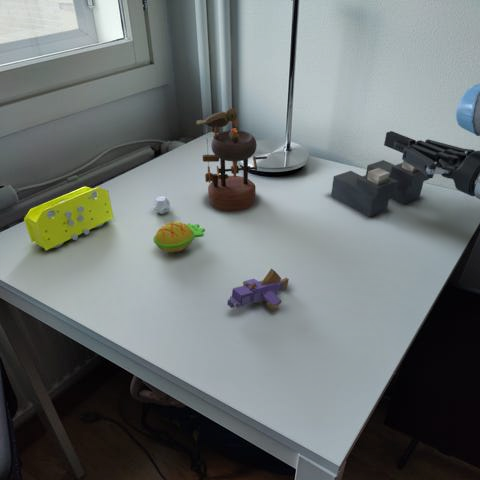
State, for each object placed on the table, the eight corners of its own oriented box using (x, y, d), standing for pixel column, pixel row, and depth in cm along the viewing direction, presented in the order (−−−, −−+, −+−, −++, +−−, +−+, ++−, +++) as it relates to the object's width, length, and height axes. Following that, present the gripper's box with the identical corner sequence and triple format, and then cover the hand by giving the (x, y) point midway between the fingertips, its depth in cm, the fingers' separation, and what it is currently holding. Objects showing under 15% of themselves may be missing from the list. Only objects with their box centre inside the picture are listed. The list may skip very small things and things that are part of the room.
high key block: (391, 212, 99) (398, 181, 94) (371, 219, 96) (377, 188, 92) (348, 189, 107) (353, 160, 102) (329, 196, 104) (333, 166, 100)
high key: (387, 182, 95) (389, 172, 93) (377, 186, 93) (379, 176, 92) (376, 177, 97) (378, 167, 95) (366, 180, 95) (368, 171, 94)
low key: (421, 170, 99) (424, 161, 98) (412, 173, 98) (414, 164, 96) (410, 165, 101) (412, 156, 99) (401, 168, 100) (403, 159, 98)
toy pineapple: (149, 247, 89) (145, 222, 85) (193, 231, 93) (191, 207, 90) (165, 264, 85) (162, 238, 81) (212, 246, 89) (210, 222, 85)
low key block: (423, 199, 103) (432, 169, 98) (405, 206, 101) (413, 175, 96) (380, 178, 111) (386, 149, 106) (362, 184, 109) (368, 155, 104)
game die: (157, 206, 101) (156, 194, 99) (173, 208, 101) (172, 196, 99) (151, 214, 99) (149, 201, 97) (167, 216, 98) (165, 203, 96)
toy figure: (244, 334, 73) (246, 313, 69) (215, 300, 77) (214, 279, 73) (302, 300, 77) (306, 279, 73) (271, 271, 81) (274, 249, 77)
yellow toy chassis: (48, 255, 87) (35, 215, 82) (32, 244, 90) (18, 205, 84) (115, 222, 96) (108, 184, 91) (99, 213, 99) (90, 176, 94)
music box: (209, 217, 98) (201, 116, 86) (197, 198, 106) (188, 104, 94) (276, 205, 101) (277, 107, 89) (259, 188, 110) (258, 96, 98)
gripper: (456, 206, 83) (362, 162, 98) (500, 188, 88) (404, 149, 103) (470, 165, 78) (368, 126, 93) (515, 149, 83) (412, 114, 98)
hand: (387, 138), depth 98 cm, fingers closed
